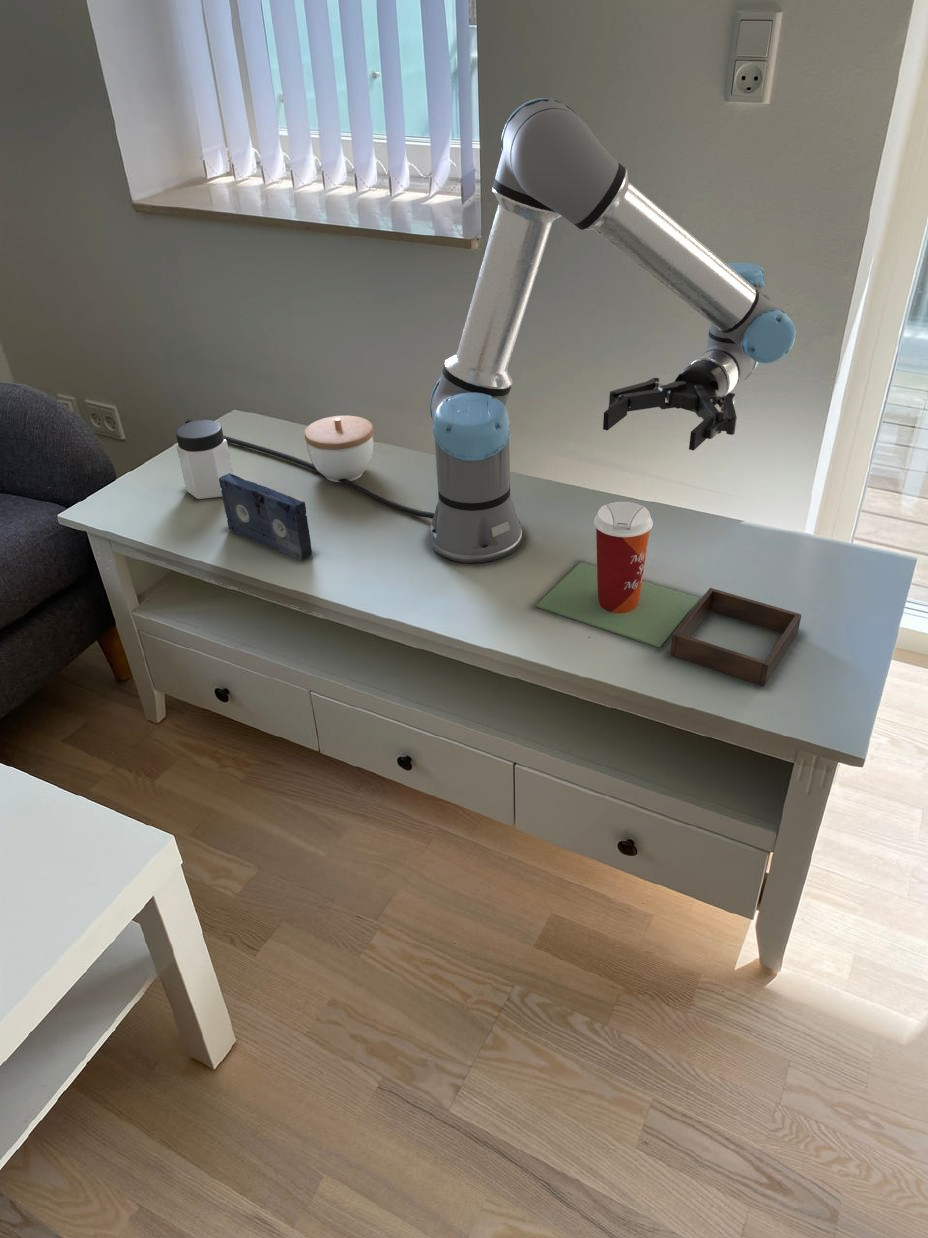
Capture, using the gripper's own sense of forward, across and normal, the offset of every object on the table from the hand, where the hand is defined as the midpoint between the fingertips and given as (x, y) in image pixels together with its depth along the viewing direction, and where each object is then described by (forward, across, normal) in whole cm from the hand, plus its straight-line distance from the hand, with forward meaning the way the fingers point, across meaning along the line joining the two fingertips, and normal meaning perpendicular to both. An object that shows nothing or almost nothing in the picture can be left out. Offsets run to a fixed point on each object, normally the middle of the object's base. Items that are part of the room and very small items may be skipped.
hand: (647, 431), depth 141 cm
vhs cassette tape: (+24, +56, -24) cm, 65 cm away
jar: (+15, +79, -24) cm, 84 cm away
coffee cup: (+11, -2, -23) cm, 25 cm away
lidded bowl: (-2, +61, -23) cm, 66 cm away
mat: (+11, -2, -23) cm, 25 cm away
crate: (+12, -21, -23) cm, 33 cm away
